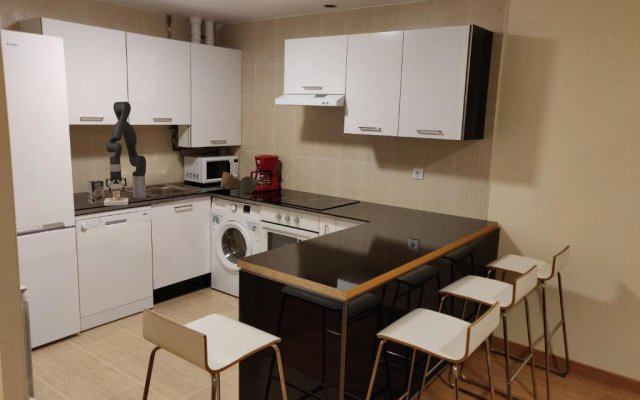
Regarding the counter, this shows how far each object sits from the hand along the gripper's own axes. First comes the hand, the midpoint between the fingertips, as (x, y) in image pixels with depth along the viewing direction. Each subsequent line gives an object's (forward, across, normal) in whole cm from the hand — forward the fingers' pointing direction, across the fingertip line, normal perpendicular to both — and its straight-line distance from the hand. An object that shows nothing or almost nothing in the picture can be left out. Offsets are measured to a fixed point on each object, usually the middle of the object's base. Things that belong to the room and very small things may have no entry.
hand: (116, 192), depth 356 cm
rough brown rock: (+10, -94, -53) cm, 108 cm away
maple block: (+6, 0, 0) cm, 6 cm away
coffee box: (+8, +14, -4) cm, 17 cm away
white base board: (+8, +1, 0) cm, 8 cm away
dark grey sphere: (+10, -103, -22) cm, 105 cm away
